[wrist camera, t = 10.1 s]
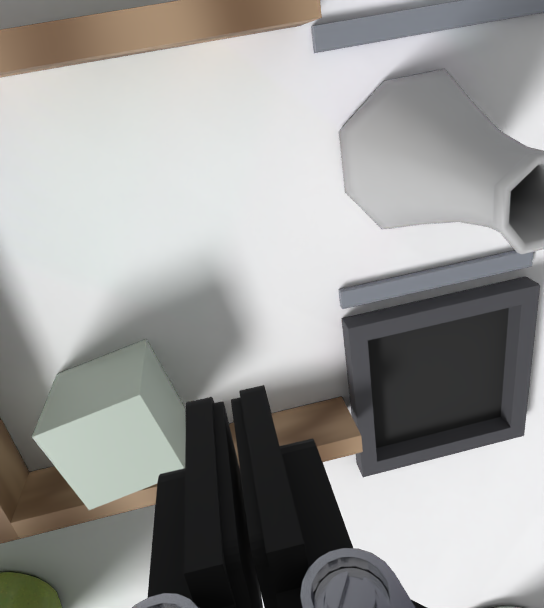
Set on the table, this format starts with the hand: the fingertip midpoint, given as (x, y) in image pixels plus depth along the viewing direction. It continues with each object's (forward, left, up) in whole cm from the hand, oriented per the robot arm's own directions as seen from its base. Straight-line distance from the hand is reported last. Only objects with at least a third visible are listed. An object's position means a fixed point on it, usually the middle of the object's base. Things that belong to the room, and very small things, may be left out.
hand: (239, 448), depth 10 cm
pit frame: (-12, +12, -15) cm, 22 cm away
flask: (-11, -2, -15) cm, 18 cm away
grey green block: (+6, +8, -15) cm, 18 cm away
